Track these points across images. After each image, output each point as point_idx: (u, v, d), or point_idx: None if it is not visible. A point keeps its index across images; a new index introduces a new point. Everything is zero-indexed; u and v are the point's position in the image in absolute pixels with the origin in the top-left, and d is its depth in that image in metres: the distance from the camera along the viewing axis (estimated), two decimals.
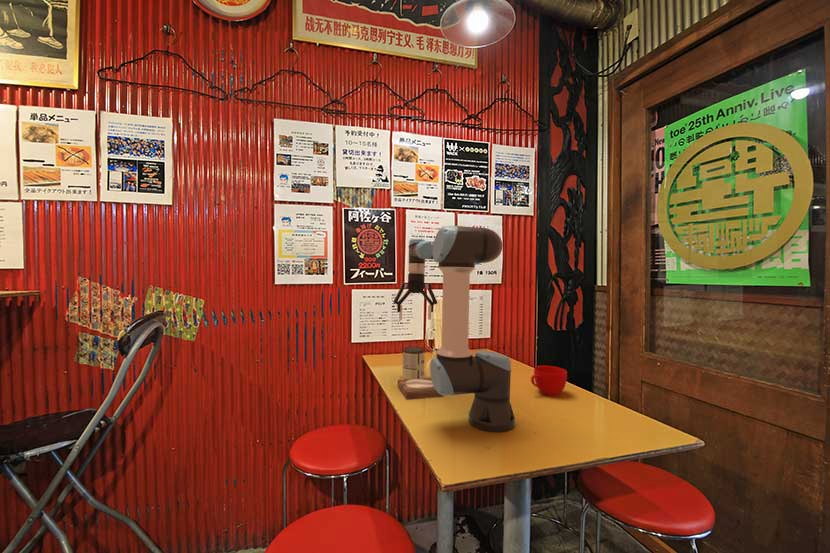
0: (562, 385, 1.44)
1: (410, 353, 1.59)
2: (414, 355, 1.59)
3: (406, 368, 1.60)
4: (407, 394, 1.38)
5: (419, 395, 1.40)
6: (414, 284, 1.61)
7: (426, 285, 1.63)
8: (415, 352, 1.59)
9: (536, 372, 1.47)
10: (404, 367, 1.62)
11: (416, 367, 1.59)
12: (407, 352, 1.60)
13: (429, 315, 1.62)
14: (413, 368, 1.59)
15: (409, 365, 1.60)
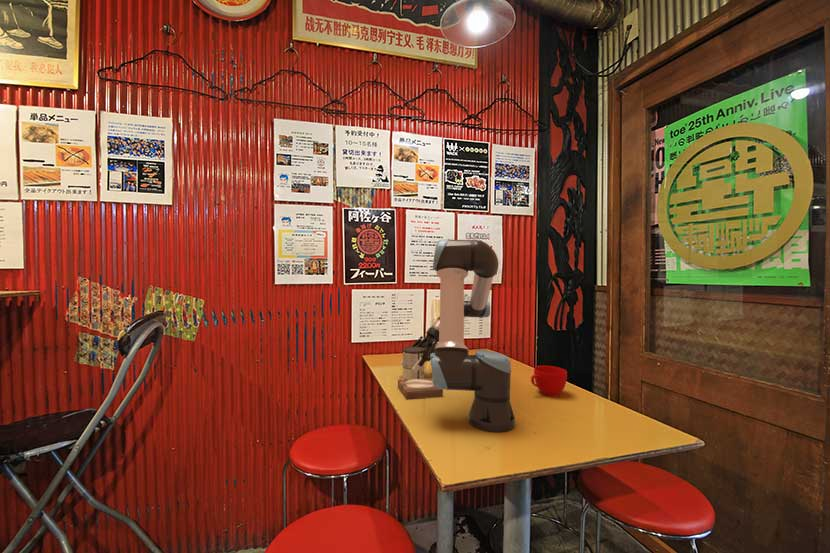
0: (562, 385, 1.44)
1: (410, 353, 1.59)
2: (414, 355, 1.59)
3: (406, 368, 1.60)
4: (407, 394, 1.38)
5: (419, 395, 1.40)
6: (428, 337, 1.69)
7: (434, 342, 1.64)
8: (415, 352, 1.59)
9: (536, 372, 1.47)
10: (404, 367, 1.62)
11: None
12: (407, 352, 1.60)
13: (414, 365, 1.59)
14: None
15: (409, 365, 1.60)
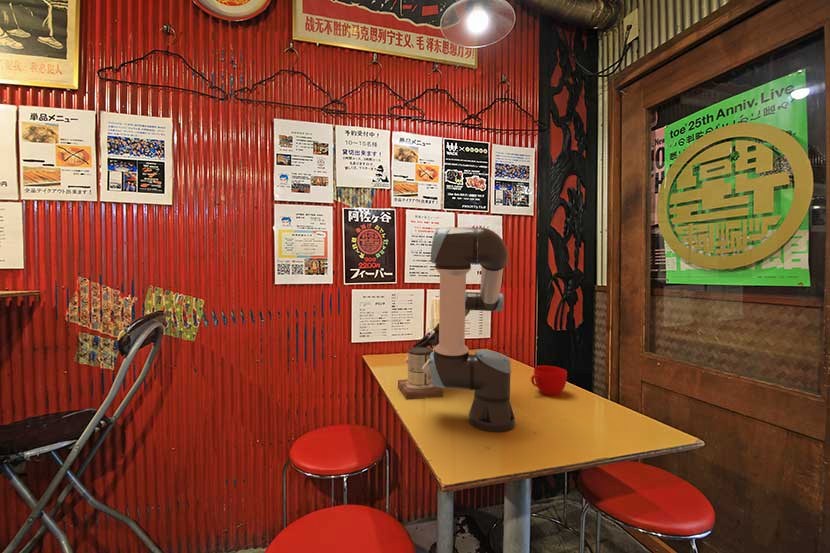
0: (562, 385, 1.44)
1: (416, 354, 1.42)
2: (420, 356, 1.42)
3: (412, 371, 1.44)
4: (407, 394, 1.38)
5: (419, 395, 1.40)
6: (435, 335, 1.52)
7: None
8: (422, 353, 1.42)
9: (536, 372, 1.47)
10: (409, 370, 1.45)
11: (423, 370, 1.43)
12: (413, 353, 1.43)
13: None
14: (419, 371, 1.42)
15: (416, 368, 1.43)
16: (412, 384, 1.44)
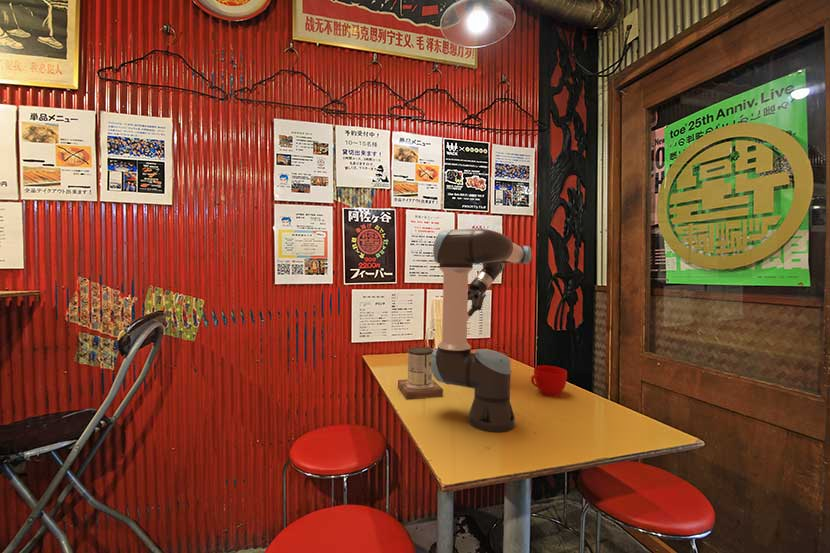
0: (562, 385, 1.44)
1: (416, 354, 1.43)
2: (420, 356, 1.42)
3: (412, 371, 1.44)
4: (407, 394, 1.38)
5: (419, 395, 1.40)
6: (471, 290, 1.61)
7: (480, 292, 1.56)
8: (422, 353, 1.42)
9: (536, 372, 1.47)
10: (409, 370, 1.45)
11: (423, 370, 1.43)
12: (413, 353, 1.43)
13: None
14: (419, 371, 1.42)
15: (416, 368, 1.43)
16: (412, 384, 1.44)
